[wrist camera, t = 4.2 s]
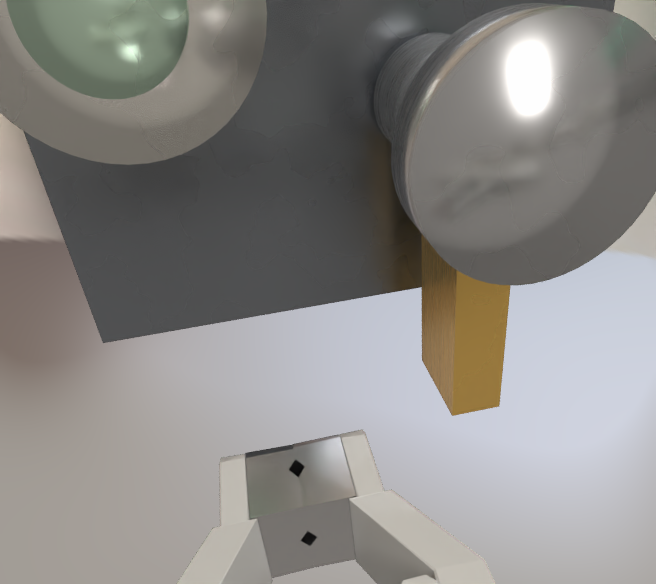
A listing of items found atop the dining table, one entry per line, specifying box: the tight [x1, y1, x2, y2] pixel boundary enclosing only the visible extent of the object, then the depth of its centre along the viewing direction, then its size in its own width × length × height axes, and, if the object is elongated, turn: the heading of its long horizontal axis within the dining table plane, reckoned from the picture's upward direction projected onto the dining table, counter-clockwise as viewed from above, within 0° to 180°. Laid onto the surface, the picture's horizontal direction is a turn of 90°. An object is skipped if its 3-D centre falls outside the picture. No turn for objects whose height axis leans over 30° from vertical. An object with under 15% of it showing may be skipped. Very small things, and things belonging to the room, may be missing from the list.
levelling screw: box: [374, 3, 656, 415], centre depth 16 cm, size 12×6×7 cm, turn 5°
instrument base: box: [0, 0, 615, 343], centre depth 15 cm, size 18×14×8 cm
